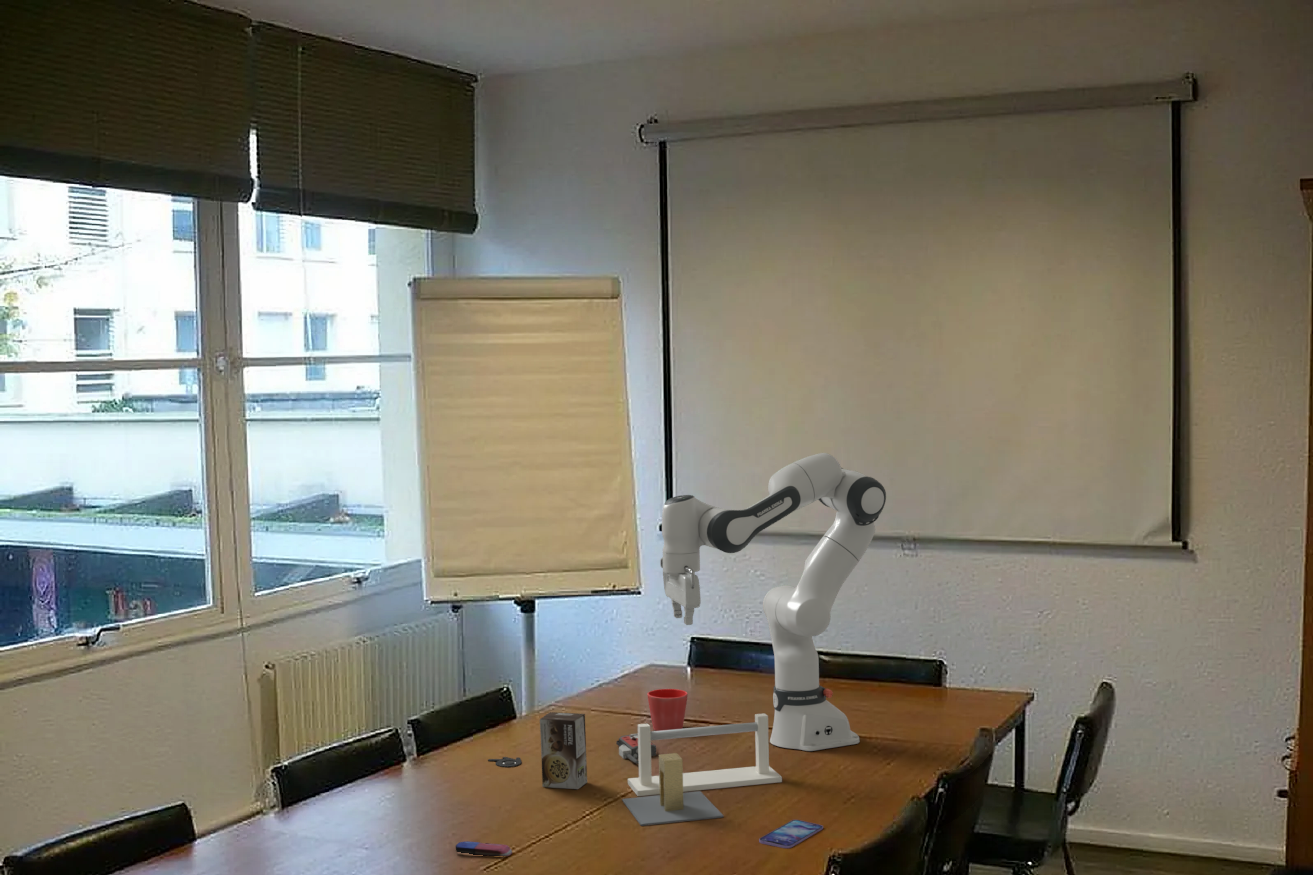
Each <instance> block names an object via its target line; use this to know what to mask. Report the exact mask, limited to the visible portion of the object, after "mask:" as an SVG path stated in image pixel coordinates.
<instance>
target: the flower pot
mask: <svg viewBox="0 0 1313 875" xmlns="http://www.w3.org/2000/svg"><path fill="white" fill-rule="evenodd" d="M688 696H689V695H688V692H687V691H686V690H683V689H677V688H662V689H661V688H660V689H659V688H658V689H654V690H651V691H648V692H647V700H648V702H647V703H648V707H649V713H650V719H651V722H652V728H653V731H662V730H673V729H684V728H683V727H684V722H685V717H686V710H687V702H688Z"/></svg>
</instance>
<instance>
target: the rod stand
mask: <svg viewBox="0 0 1313 875" xmlns="http://www.w3.org/2000/svg"><path fill="white" fill-rule="evenodd" d="M748 732H754V733H755V734H754V738H755V739H754V740H755V742H754V743H755V766H745V767H735V768H734V767H733V768H723V769H716V770H715V769H714V770H703V771H693V772H683V793H686V792H697V791H705V790H714V789H725V788H734V787H735V788H736V787H743V786H754V785H766V784H774V783H775V784H776V783H783V777H782V776H781V774H779V773H778V772H777V771H776V770H775V769H773V768H772V767H771V766H770V759H769V758H770V755H769V754H770V752H769V748H770V747H769V745H770V744H769V743H770V740H769V715H768V714H766V713H756V714H754V722H745V723H744V722H743V723H732V724H722V725H721V724H720V725H710V726H700V727H688V728H687V727H686V728H682V729H673V730H662V731H655V730H652V731H651V725H650V724H648V723H640V724H639V723H638V724H637V734H638V758H637V760H638V761H639V764H638V777H629V778H627V785H628V786H629V788H631V790H632V791H633V792H634V793H635V795H636V796H637V797H646V796H656V795H660V789H659V775H652V756H651V742H652V741H660V740H671V739H672V740H673V739H681V738H682V739H683V738H692V737H694V738H695V737H705V736H707V737H708V736H717V735H728V734H738V733H748Z"/></svg>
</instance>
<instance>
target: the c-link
mask: <svg viewBox="0 0 1313 875" xmlns="http://www.w3.org/2000/svg"><path fill="white" fill-rule="evenodd" d="M683 769H684V768H683V758H682V757H681V756H680V755H679V754H678V753H677V752H673V753H672V752H671V753H664V754H663V753H662V754H658V776H659V789H660V794H659V795H660V805H661V806H664V810H665V811H673V810H683V793H684V792H683V773H684V770H683Z"/></svg>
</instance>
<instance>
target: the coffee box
mask: <svg viewBox="0 0 1313 875" xmlns="http://www.w3.org/2000/svg"><path fill="white" fill-rule="evenodd" d="M539 731H540V733H539V734H540V753H541V755H540V756H541V778H542V779H541V781H542V783H541V784H542V785H541V787H543V788H551V789H552V788H553V789H566V790H567V789H570V790H579V789H581V788H582V787H583V786H585V785H586V784H587V783H588V767H587V764H588V763H587V738H586V737H587V736H586V714H585V713H577V712H576V713H574V712H572V713H571V712H554V711H550V712H548V713H547V714H545V715H544V716H543V717H541V718H540V719H539Z"/></svg>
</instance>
